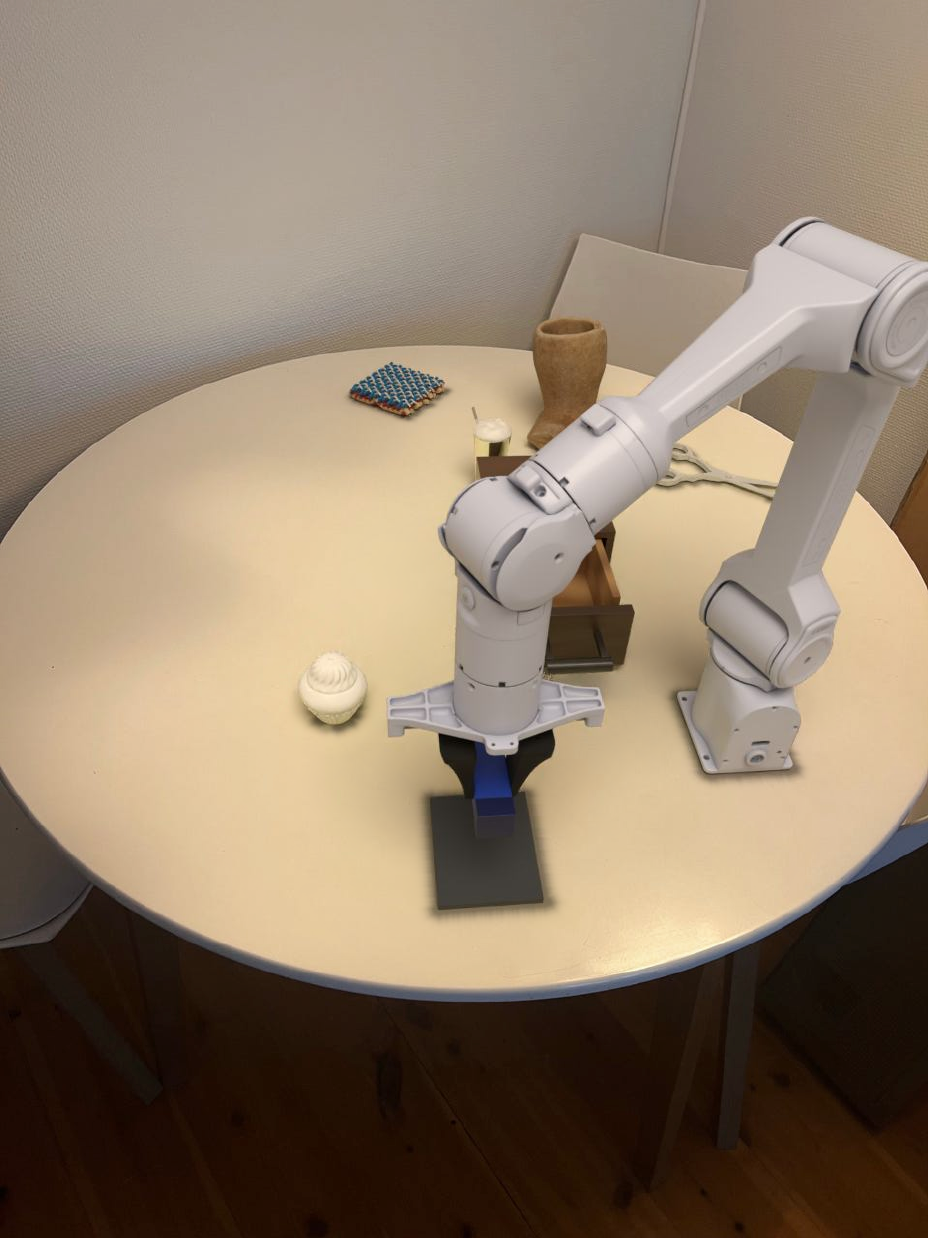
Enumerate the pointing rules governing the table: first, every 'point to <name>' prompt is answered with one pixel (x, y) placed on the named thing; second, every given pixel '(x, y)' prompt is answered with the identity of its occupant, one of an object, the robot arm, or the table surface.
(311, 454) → the table surface
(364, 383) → the woven mat
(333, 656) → the muffin
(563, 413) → the stone cup
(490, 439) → the milkshake
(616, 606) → the drawer
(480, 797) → the block
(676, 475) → the scissors
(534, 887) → the desk pad
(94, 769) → the table surface
